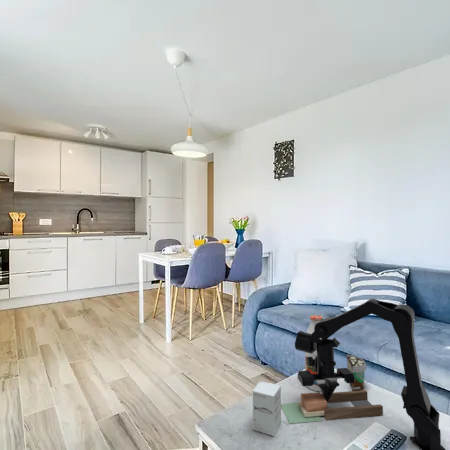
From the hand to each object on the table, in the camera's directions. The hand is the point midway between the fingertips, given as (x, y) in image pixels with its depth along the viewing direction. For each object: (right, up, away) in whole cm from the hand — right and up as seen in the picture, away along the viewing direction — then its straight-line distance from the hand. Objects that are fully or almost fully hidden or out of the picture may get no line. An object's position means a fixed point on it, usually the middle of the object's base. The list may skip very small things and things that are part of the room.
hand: (326, 401), depth 106 cm
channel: (+7, -3, +1) cm, 8 cm away
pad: (-9, -3, -1) cm, 10 cm away
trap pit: (+14, -3, +1) cm, 14 cm away
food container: (+18, -3, +16) cm, 24 cm away
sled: (-5, -3, -1) cm, 6 cm away
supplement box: (-22, -4, -8) cm, 24 cm away
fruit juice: (+2, -3, +16) cm, 17 cm away
